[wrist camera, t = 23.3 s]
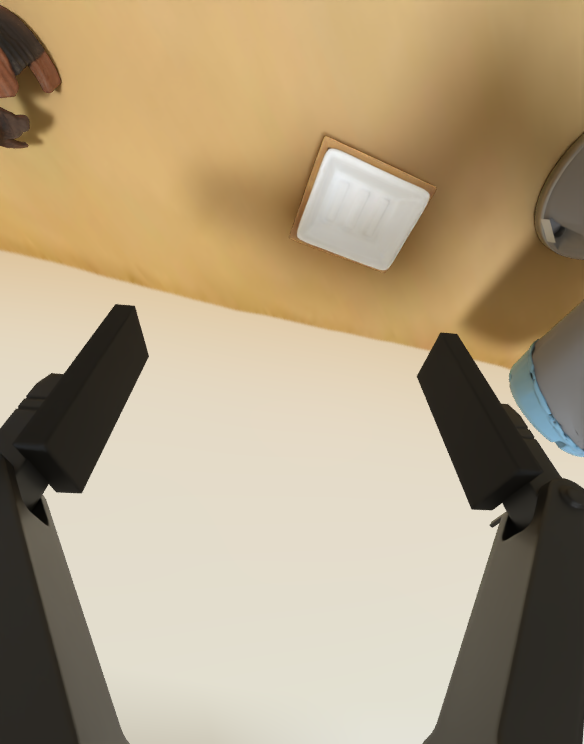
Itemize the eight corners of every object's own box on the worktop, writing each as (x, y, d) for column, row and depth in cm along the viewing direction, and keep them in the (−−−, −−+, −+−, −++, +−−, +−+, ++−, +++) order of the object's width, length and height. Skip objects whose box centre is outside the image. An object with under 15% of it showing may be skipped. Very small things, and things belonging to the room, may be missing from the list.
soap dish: (425, 179, 34) (443, 190, 30) (378, 261, 40) (388, 279, 37) (320, 130, 31) (325, 136, 27) (287, 227, 37) (288, 243, 34)
